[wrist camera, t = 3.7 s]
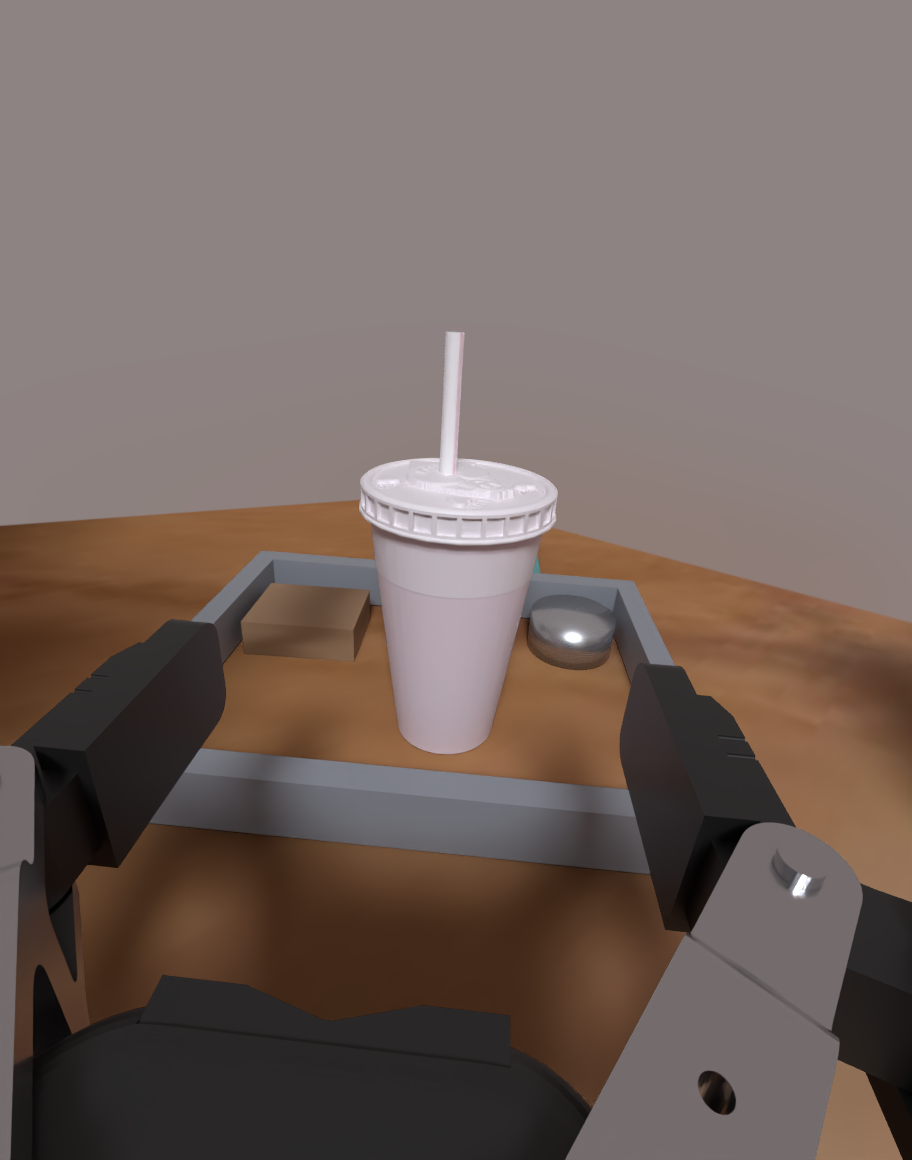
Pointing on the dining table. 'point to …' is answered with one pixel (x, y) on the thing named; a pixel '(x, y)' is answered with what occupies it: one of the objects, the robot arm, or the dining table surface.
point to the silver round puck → (571, 631)
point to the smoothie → (452, 576)
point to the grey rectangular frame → (402, 795)
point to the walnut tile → (307, 622)
